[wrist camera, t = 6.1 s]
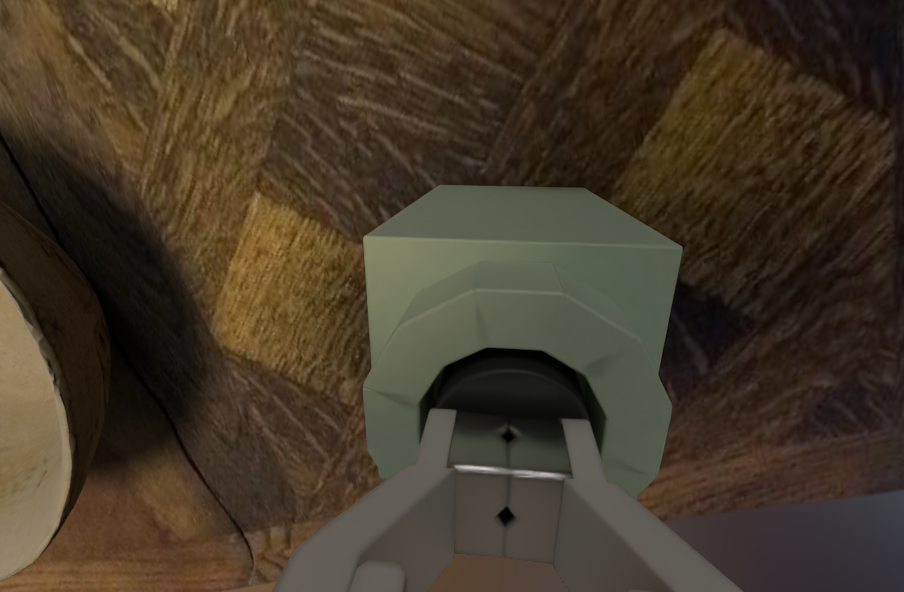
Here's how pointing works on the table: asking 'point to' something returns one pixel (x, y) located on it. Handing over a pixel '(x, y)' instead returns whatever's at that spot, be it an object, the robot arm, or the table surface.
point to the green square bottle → (521, 311)
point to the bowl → (45, 388)
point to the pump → (512, 385)
